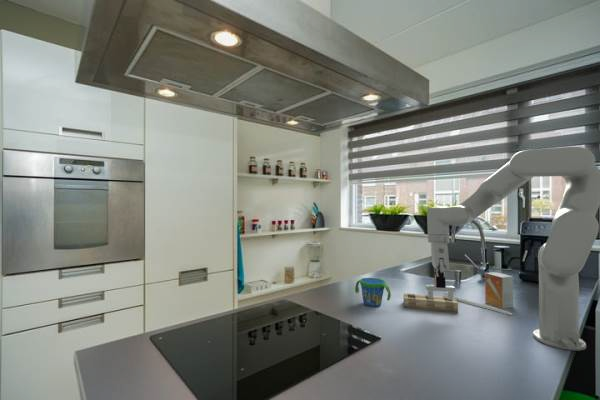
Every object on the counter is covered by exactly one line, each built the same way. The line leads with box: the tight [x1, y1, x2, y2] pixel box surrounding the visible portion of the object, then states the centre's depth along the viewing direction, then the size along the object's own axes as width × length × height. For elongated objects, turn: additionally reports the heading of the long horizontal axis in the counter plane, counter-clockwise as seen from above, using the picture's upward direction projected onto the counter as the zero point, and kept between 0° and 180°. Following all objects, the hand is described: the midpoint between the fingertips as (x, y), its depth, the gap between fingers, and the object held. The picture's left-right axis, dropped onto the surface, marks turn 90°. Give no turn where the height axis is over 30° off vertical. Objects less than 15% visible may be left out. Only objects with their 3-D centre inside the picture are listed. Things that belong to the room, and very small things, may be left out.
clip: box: [425, 274, 456, 300], centre depth 114 cm, size 3×10×9 cm, turn 74°
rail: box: [403, 292, 459, 314], centre depth 123 cm, size 7×20×4 cm, turn 73°
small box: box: [484, 271, 514, 310], centre depth 127 cm, size 8×6×13 cm
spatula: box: [443, 291, 514, 317], centre depth 127 cm, size 28×4×3 cm, turn 34°
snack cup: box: [354, 277, 392, 308], centre depth 127 cm, size 16×10×10 cm
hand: (440, 285), depth 114 cm, fingers closed on clip, 3 cm apart
